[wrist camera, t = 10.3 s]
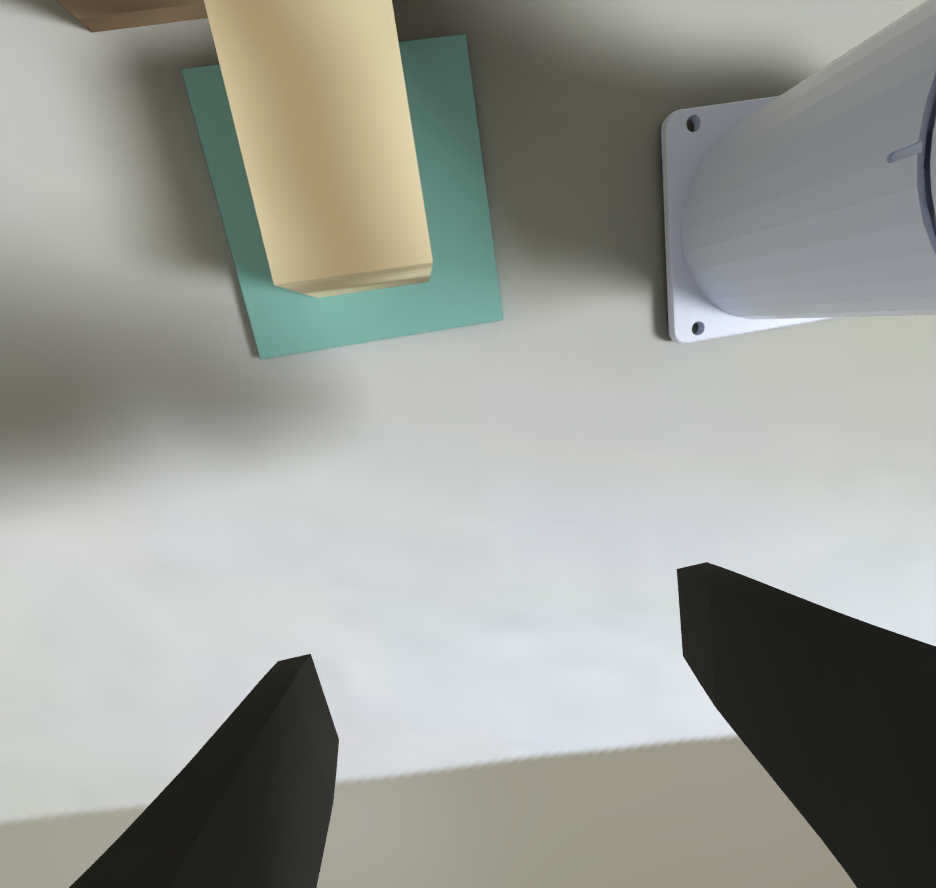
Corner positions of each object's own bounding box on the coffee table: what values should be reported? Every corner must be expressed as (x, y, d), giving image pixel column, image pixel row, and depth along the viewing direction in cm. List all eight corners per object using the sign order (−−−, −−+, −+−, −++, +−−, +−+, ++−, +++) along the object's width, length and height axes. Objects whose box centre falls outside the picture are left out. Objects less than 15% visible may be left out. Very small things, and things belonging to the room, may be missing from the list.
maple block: (397, 89, 15) (387, -28, 10) (429, 281, 16) (432, 262, 11) (274, 103, 14) (201, -8, 10) (317, 298, 16) (274, 284, 11)
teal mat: (464, 41, 15) (465, 33, 15) (501, 319, 17) (503, 319, 17) (187, 75, 14) (181, 69, 14) (264, 358, 17) (260, 359, 16)
